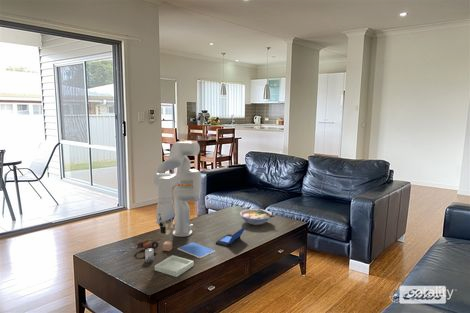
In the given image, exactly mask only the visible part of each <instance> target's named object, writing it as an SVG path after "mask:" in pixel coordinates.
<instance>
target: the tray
mask: <svg viewBox="0 0 470 313" xmlns="http://www.w3.org/2000/svg"><path fill="white" fill-rule="evenodd" d="M194 265H195V262H194V260H191V259H189V258H184V257H180V256H177V255H173V254H172V255H170V256H168V257H167V258H165V259H164V260H162V261H160V262H158V263H157V264H155V265H154V271H156V272H160V273H162V274H166V275H170V276H172V277H175V278H177V277H179V276H180V275H182V274H184V273H186V271H188V270H189V269H191V268H192V267H194Z"/></svg>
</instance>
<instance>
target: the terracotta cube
mask: <svg viewBox="0 0 470 313" xmlns="http://www.w3.org/2000/svg"><path fill="white" fill-rule="evenodd" d="M162 245H163V246H162V251H163V252H164V251H165V252H170V251H172V249H173V241H164V243H163V244H162Z"/></svg>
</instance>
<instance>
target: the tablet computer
mask: <svg viewBox="0 0 470 313" xmlns="http://www.w3.org/2000/svg"><path fill="white" fill-rule="evenodd" d="M177 250H178V251H180V252H184V253H186V254H188V255H191V256H193V257H196V258H198V259H202V258H205V257H207V256H209V254H210V255H212V254H213V253H215V252H216V250H214V249H212V248H209V247H207V246H203V245H202V244H199V243H196V242H190V243H187V244H185V245H181V246H179V247H178V248H177Z"/></svg>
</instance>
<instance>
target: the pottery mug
mask: <svg viewBox="0 0 470 313" xmlns="http://www.w3.org/2000/svg"><path fill="white" fill-rule="evenodd" d="M136 245H137V246H136V250H138V249H143V248H144V249H145V250H146V249H148V248H153V249H154V252H155V250H156V249H157V248H158V247H159V242H158V241H156V240H154V241H151V240H150V239H145V240H143V241H141V242H139V243H137V244H136ZM142 254H143V256H144V257H145V251H144V252H143V253H142Z"/></svg>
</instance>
